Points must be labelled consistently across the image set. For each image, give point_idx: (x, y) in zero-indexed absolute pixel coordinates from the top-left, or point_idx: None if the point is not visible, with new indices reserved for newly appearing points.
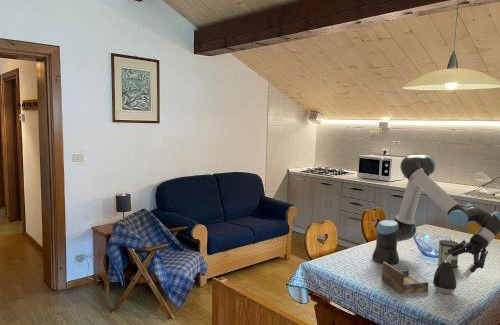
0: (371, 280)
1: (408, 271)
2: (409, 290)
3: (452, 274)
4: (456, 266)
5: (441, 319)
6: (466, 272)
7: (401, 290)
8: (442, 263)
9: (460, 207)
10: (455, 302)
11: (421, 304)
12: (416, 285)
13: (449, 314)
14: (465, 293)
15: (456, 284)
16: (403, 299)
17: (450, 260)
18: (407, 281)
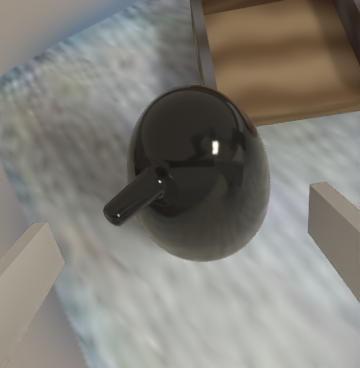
0: None
1: None
2: (196, 45)
3: (128, 179)
4: (114, 198)
5: (3, 75)
6: (17, 244)
7: (191, 14)
8: (187, 85)
9: None
10: (93, 194)
11: (105, 60)
12: (199, 55)
13: (20, 115)
14: (175, 322)
15: (159, 246)
16: (149, 21)
17: (357, 283)
18: (284, 62)
